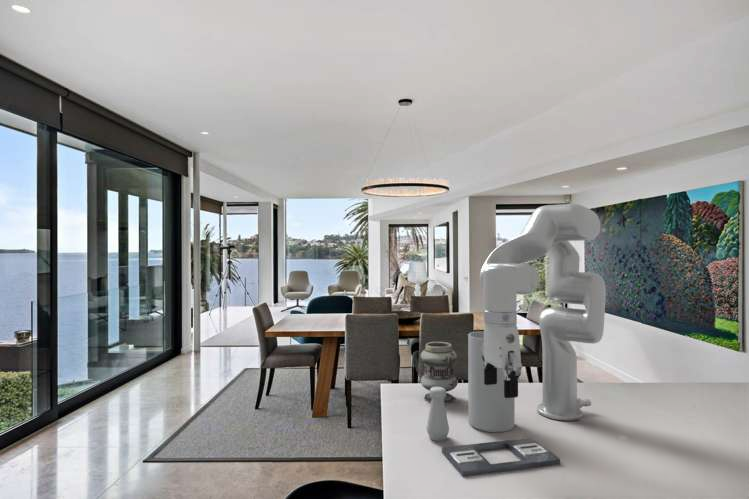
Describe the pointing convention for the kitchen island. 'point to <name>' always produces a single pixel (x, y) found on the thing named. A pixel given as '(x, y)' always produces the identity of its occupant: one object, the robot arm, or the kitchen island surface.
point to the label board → (475, 464)
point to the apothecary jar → (439, 368)
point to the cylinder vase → (486, 393)
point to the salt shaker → (437, 415)
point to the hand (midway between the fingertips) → (500, 390)
